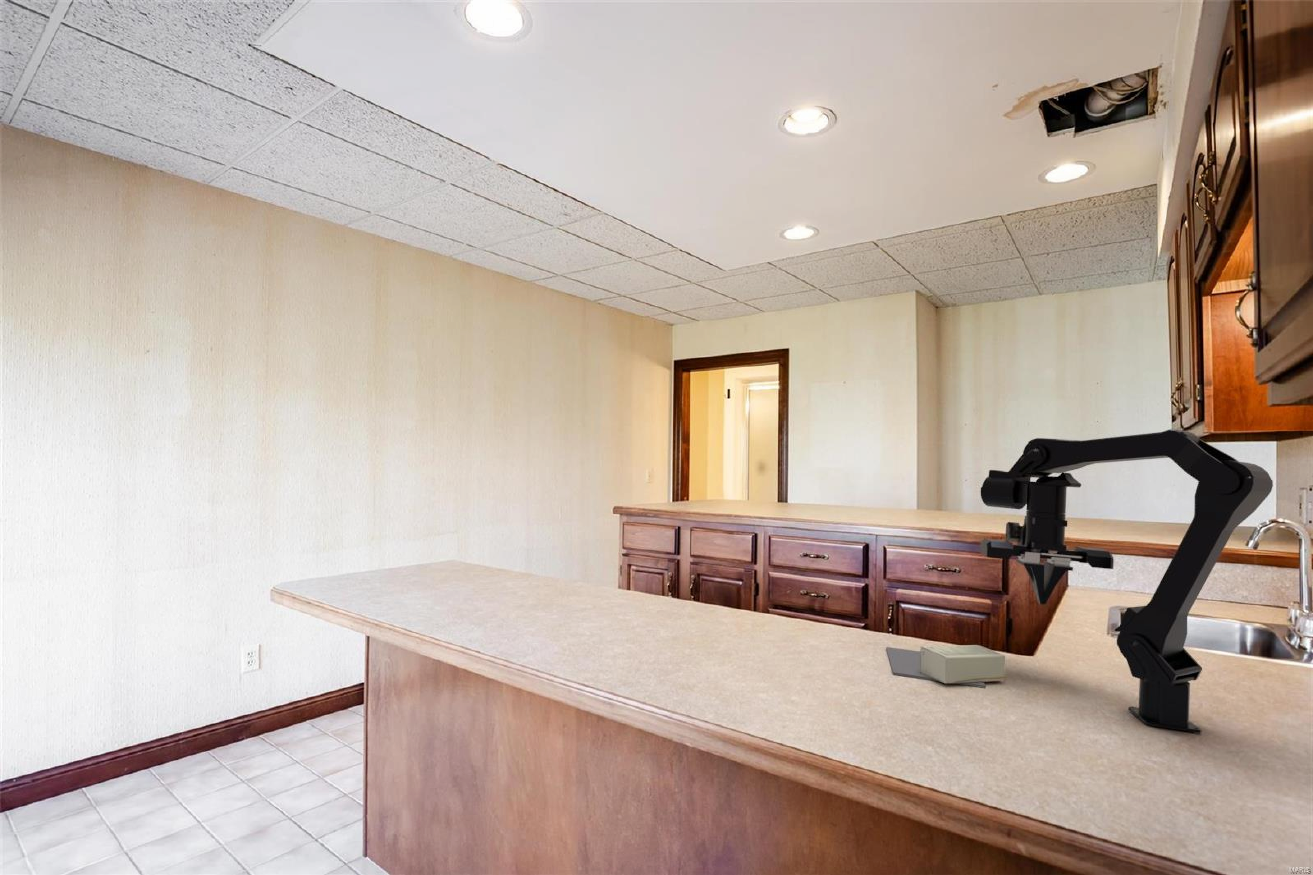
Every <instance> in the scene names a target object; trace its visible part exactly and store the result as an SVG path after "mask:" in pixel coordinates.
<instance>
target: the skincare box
mask: <svg viewBox="0 0 1313 875" xmlns="http://www.w3.org/2000/svg"><path fill="white" fill-rule="evenodd" d="M1005 666H1006V655H1005V654H1003V653H1000V652H998V651H995V650H992V649H990V648H987V647H984V646H982V645H978V644H969V645H968V644H966V645H963V644H962V645H933V646H931V645H930V646H929V645H927V646H925V645H924V646H920V672H922V673H924V674H926V675H928V676H930V677H932V678H934V679H936V680H938V681H937V682H940V681H941V682H940V683H944V684H954V683H964V682H984V683H985V682H1001V681H1002V682H1004V681H1005Z"/></svg>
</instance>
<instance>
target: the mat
mask: <svg viewBox="0 0 1313 875" xmlns="http://www.w3.org/2000/svg"><path fill="white" fill-rule="evenodd" d="M885 651H886V654H887V657H888V660H889V664H890V668H891V672H892V675H893V676H899V677H906V678H914V679H920V680H928V681H934V682H940V683H942V682H941V681H938V680H936V679H934V678H932V677H930V676H928V675H926V674H924V673H922V672H920V651H919V650H913V649H911V650H910V649H904V648H897V647H890V646H886V647H885ZM953 684H955V685H960V686H968V685H971V686H970V687H975V686H980V687H979V688H982V687H986V686H987V685H986V684H985V682H964V683H953Z"/></svg>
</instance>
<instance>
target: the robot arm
mask: <svg viewBox="0 0 1313 875" xmlns="http://www.w3.org/2000/svg"><path fill="white" fill-rule="evenodd" d="M1167 458H1169V459H1170V460H1172V462H1173V463H1175V464H1176V465H1177V466H1178V467H1179V468H1180V469H1181V470H1182V471H1184V473H1186V474H1187V475H1189V476H1190V477H1192V479H1195V480H1196V481H1197V487H1196V490H1195V493H1194V512H1193V513H1194V514H1193V518H1192V520H1191V523H1190V524H1189V526H1188V528H1187V530H1186V532H1185V534H1184V535H1183V538H1182V540H1180V541H1181V542H1180V543H1179V546H1178V547H1177V549H1176V552H1175V553H1174V555H1173V557H1172V559H1171V561H1170V563H1169V565H1168V566H1167V568H1166V571H1165V573H1164V574H1163V576H1162V578H1161V580H1160V581H1159V584H1158V586H1156V587H1157V588H1156V589H1155V591H1154V593H1153V595H1152V597H1151V599H1150V601H1149V602H1148V603H1147V604H1146V605H1138V606H1131V607H1127V608H1126V610H1125V612H1124V615H1123V617H1122V618H1123V619H1122V621H1121V623H1120V624H1119V625H1118V626H1117V627H1116V628H1115V629H1114V632H1117V633H1118V634H1117V637H1116V646H1117V647H1118V650H1119V651H1120V653H1121V655H1122V656H1123V657H1124V659H1125V660H1126V663H1127V665H1128V668H1129V670H1130V674H1131V676H1132V677H1133V678H1135V679H1139V683H1138V684H1139V688H1138V707H1137V706H1128V707H1127V708H1128V711H1130V713H1132V714H1133V715H1134V716H1135V717H1136V718H1138V719H1139V720H1140V721H1141V722H1143V723H1145V725H1147V726H1151V727H1157V728H1158V727H1159V728H1164V729H1171V730H1176V731H1178V730H1179V731H1184V732H1191V733H1196V734H1197V733H1198V734H1201V732H1202V729H1201V728H1200V727H1198V726H1197V725H1196V724H1194V723H1193V722H1191V721H1190V696H1191V694H1190V693H1191V683H1190V682H1191V681H1197V680H1198V678H1199V677H1200V674H1201V673H1202V671H1203V667H1202V666H1201V665H1200V664H1199V663H1198V662H1197V660H1195V659H1194V658H1193V656H1192V655H1191V654H1190V653H1189V652H1188V651H1187V649H1185V643H1186V640H1187V637H1188V636H1187V635H1188V617H1189V616H1188V615H1189V613H1190V611H1191V610H1192V608H1193V606H1194V604H1195V602H1196V600H1197V598H1198V596H1199V594H1200V593H1201V591H1202V589H1203V587H1204V585H1205V583H1206V582H1207V580H1208V578H1209V577H1210V575H1211V572H1212V570H1213V569H1214V567H1215V565H1216V563H1217V561H1218V560H1219V558H1220V556H1221V554H1222V552H1223V551H1224V549H1225V547H1226V545H1227V543H1228V542H1229V539H1230V538H1231V535H1232V534H1233V532H1234V530H1235V529H1236V528H1237V527H1238V526H1239V525H1241V524H1242V523H1243V522H1244V521H1245V520H1247V519H1248V518H1249V517H1250V516H1251V515H1252V514H1254V513H1255V511H1256V510H1257V509H1258V508H1259V507H1260V506H1261V504H1262V503H1263V502H1264V501H1265V500H1266V499H1267V498H1268V497H1269V495H1270V494H1271V492H1272V491H1273V490H1272V489H1273V486H1274V485H1273V484H1274V483H1273V482H1274V481H1273V479H1272V478H1271V476H1270V474H1269V473H1268V471H1267V470H1265V469H1264V467H1261V466H1259V465H1257V464H1255V463H1250V462H1245V461H1240V460H1237V459H1236V458H1235V457H1233V456H1231V455H1229V454H1228V453H1226V452H1224V451H1222V450H1220V449H1218V448H1217V447H1214V446H1213V445H1210V444H1209V443H1207V442H1205V441H1204V440H1202V439H1201V438H1199V437H1198V436H1197V435H1196V434H1195V433H1193V432H1191V431H1188V430H1181V429H1172V428H1171V429H1167V430H1164V431H1159V432H1150V433H1142V434H1141V433H1140V434H1133V435H1123V436H1113V437H1105V438H1103V437H1102V438H1094V439H1086V440H1077V439H1062V438H1061V439H1060V438H1045V437H1042V438H1041V437H1039V438H1038V437H1037V438H1033V439H1031V440H1029V441H1027V444H1026V445H1025V447H1024V449H1023V450H1022V455H1020V456H1019V458H1018V459H1017V461H1016V462H1015V463H1013V464H1014V465H1013V466H1011V468H1010V469H1009V470H1008V471H1004V470H1000V469H999V470H997V469H990V470H989V471H988V476H987V477H986V478H985V479H984V481H983V482H982V486H980V498H981V500H982V502H983V504H984V505H985V506H987V507H991V508H992V507H993V508H1000V509H1001V508H1003V509H1011V510H1013V509H1014V510H1022V509H1024V508H1025V507H1026V513H1025V514H1026V515H1025V516H1024V519H1023V521H1024V522H1023V524H1022V525H1021V524H1020V523H1019V522H1011V521H1007V523H1006V524H1005V525H1006V526H1005V539H994V538H984V539H983V540H981V542H980V548H979V550H980V552H979V553H980V554H981V555H982V556H984V557H986V558H990V559H1000V560H1001V559H1002V560H1009V559H1010V558H1012V557H1013V556H1015V557H1017V558H1015V562H1016V563H1018V564H1019V565H1021V566H1023V567H1024V568H1025V570H1026V572H1027V574H1028V577H1029V579H1030V581H1031V585H1032V587H1033V590H1034V593H1035V597H1036V600H1037V602H1038V604H1039V605H1043V606H1045V605H1046V604H1047V602H1048V600H1049V599H1050V597H1051V595H1052V593H1053V592H1054V590H1055V588H1056V586H1057V585H1058V583H1059V581H1060V580H1061V579H1062V577H1063V576H1064V575H1065V574H1066V573H1067V572H1068V571H1073V570H1074V567H1073V566H1071V562H1078V563H1081V564H1088V565H1089V566H1090V567H1091V568H1097V569H1106V570H1114V563H1115V562H1114V556H1113V554H1112V553H1111V551H1109V550H1106V549H1102V548H1097V547H1088V546H1087V547H1086V546H1075V547H1074V550H1073V549H1067V545H1066V544H1065V539H1066V538H1065V536H1066V532H1065V531H1066V527H1068V520H1066V508H1067V488H1068V487H1069V488H1081V487H1082V484H1081V482H1079V481H1078V480H1077V479H1076V478H1074V476H1073V475H1072V473H1070V472H1071V471H1074V470H1075V471H1076V470H1078V469H1082V468H1084V467H1087V466H1089V465H1090V466H1091V465H1094V464H1104V463H1116V462H1117V463H1119V462H1129V461H1141V460H1142V461H1143V460H1155V459H1157V460H1158V459H1167ZM1053 474H1059V475H1058V476H1053ZM1051 475H1052V476H1051ZM1031 478H1035V479H1036V478H1037V479H1036V480H1035V481H1031ZM1015 542H1016V545H1015V544H1013V543H1015ZM1041 559H1044V560H1045V559H1046V561H1044V560H1043V561H1042V563H1041Z"/></svg>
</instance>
